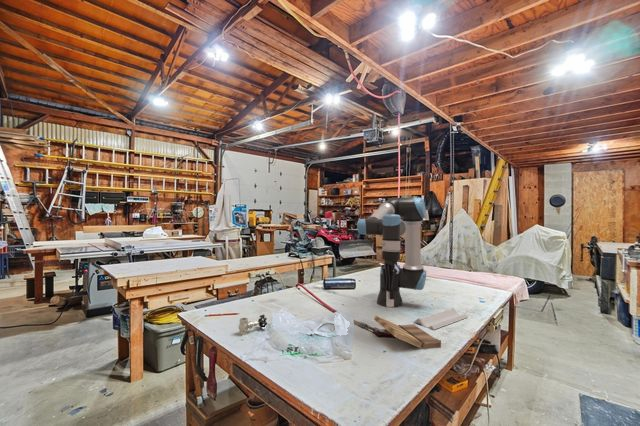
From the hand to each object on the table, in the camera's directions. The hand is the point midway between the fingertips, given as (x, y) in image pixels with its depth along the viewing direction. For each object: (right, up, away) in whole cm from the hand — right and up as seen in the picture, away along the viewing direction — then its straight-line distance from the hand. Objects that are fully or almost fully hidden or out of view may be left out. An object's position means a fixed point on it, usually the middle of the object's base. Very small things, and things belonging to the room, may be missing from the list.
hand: (390, 306), depth 121 cm
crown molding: (+33, -17, +26) cm, 45 cm away
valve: (-60, -14, +6) cm, 62 cm away
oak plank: (+3, -12, +1) cm, 12 cm away
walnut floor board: (+13, -15, +3) cm, 20 cm away
